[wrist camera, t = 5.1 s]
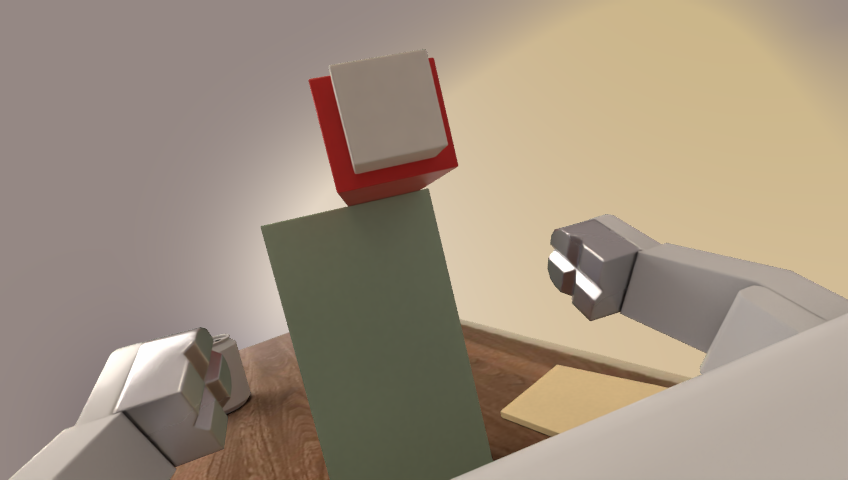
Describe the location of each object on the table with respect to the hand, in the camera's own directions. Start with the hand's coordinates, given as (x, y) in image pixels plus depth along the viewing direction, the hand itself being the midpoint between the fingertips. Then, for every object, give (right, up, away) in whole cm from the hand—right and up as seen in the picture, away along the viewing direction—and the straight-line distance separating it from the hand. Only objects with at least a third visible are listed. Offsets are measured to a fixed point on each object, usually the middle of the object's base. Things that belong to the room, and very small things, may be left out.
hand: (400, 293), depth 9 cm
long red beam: (-2, +4, +14) cm, 15 cm away
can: (-33, -27, +54) cm, 69 cm away
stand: (0, -22, +22) cm, 31 cm away
